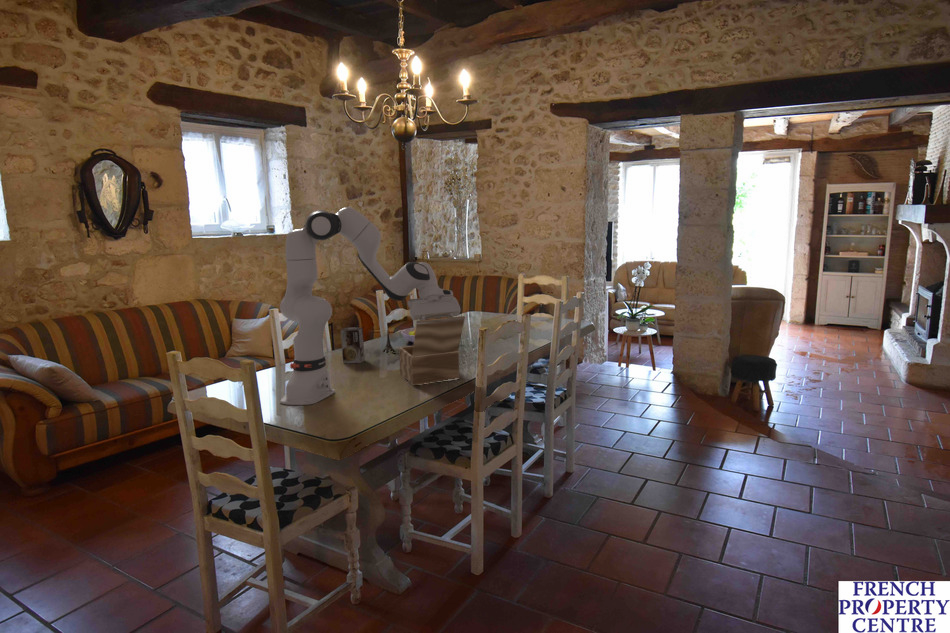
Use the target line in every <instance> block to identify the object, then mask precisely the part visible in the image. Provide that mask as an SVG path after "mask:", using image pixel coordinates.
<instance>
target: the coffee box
mask: <svg viewBox="0 0 950 633" xmlns="http://www.w3.org/2000/svg"><path fill="white" fill-rule="evenodd" d="M340 339H341V352H342V363H343V364H362V363H363V362H364V361H365V346H364V344H365V343H364V331H363V327H357V326H356V327H344V328H342V329H340Z"/></svg>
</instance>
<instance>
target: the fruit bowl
mask: <svg viewBox="0 0 950 633" xmlns="http://www.w3.org/2000/svg"><path fill="white" fill-rule="evenodd" d="M415 331H416V326H414V327H410V328H405V329H403V330H402V331H401V332H400V333H401V334H400V335H402V337H403V339H404V340H406V341H409V342H410V343H411V342H412V343H413V344H414V339H415Z"/></svg>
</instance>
